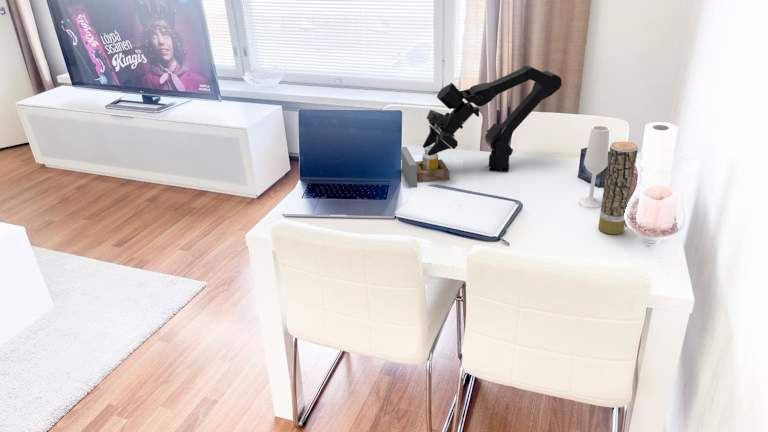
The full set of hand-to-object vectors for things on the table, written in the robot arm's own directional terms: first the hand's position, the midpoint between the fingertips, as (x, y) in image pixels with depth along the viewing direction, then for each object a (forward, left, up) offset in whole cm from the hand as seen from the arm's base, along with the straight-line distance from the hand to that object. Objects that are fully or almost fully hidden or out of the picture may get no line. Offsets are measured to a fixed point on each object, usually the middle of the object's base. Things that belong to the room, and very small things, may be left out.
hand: (425, 151), depth 200 cm
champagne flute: (-54, +11, -9) cm, 56 cm away
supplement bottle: (-1, -1, -9) cm, 9 cm away
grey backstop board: (+6, +3, -9) cm, 11 cm away
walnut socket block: (-1, -1, -10) cm, 10 cm away
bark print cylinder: (-59, +28, -9) cm, 66 cm away
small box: (-56, -7, -9) cm, 57 cm away
